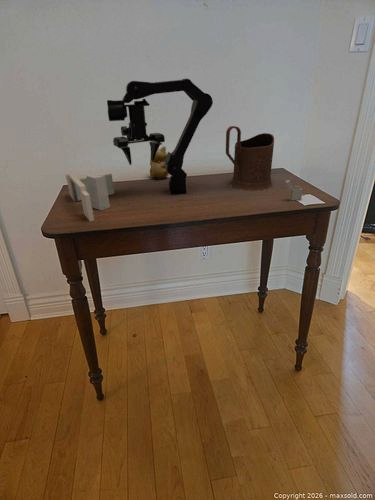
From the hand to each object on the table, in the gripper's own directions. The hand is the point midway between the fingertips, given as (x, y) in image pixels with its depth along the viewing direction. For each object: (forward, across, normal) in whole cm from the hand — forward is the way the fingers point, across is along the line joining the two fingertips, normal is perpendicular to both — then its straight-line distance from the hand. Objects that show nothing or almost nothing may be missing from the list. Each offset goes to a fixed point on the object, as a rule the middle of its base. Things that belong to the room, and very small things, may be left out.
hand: (141, 162), depth 121 cm
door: (+13, +18, -8) cm, 24 cm away
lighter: (+13, -44, +37) cm, 59 cm away
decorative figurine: (+13, -16, -19) cm, 28 cm away
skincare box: (+13, +19, +4) cm, 24 cm away
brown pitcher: (+13, -42, +13) cm, 46 cm away
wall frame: (+13, +25, -1) cm, 29 cm away
